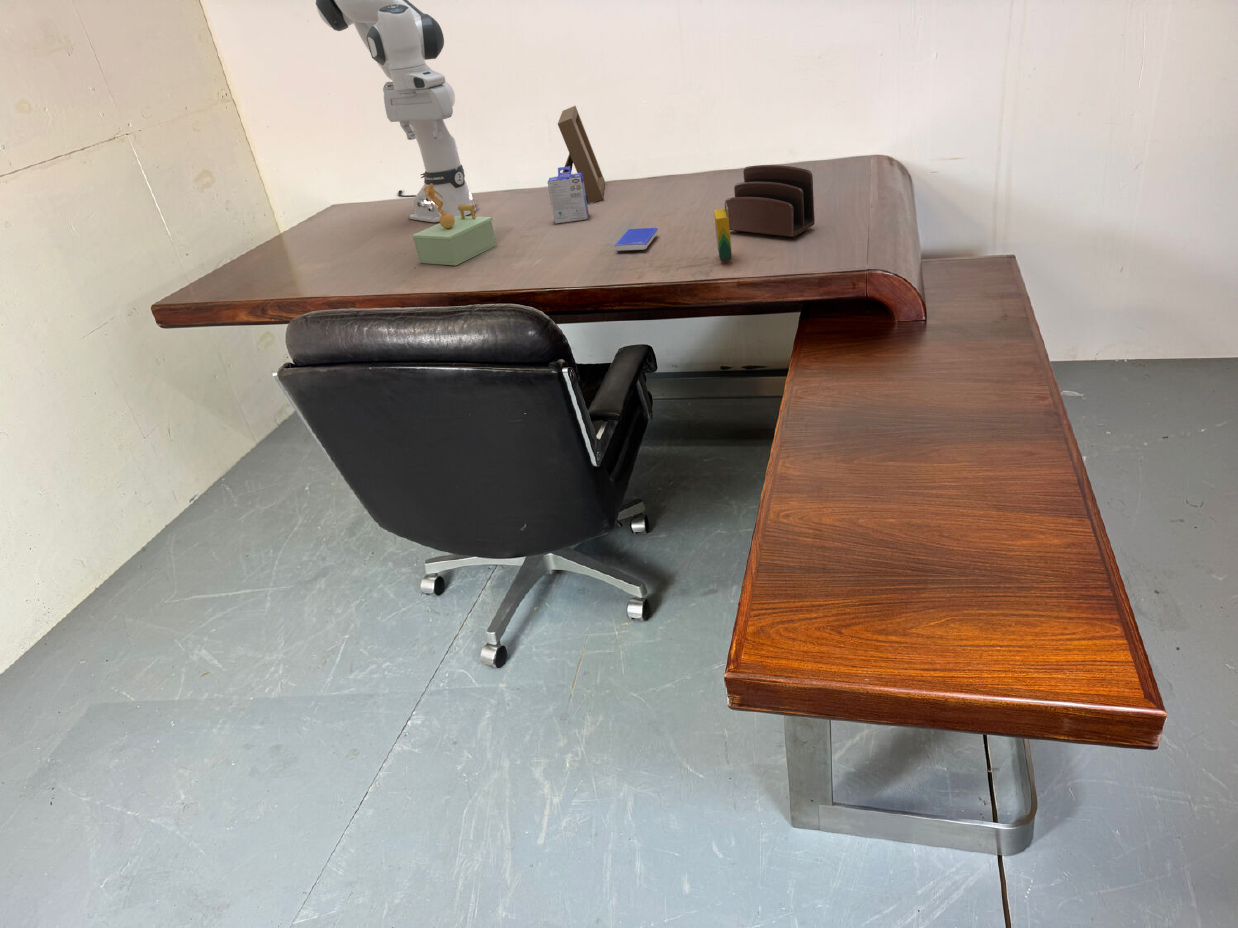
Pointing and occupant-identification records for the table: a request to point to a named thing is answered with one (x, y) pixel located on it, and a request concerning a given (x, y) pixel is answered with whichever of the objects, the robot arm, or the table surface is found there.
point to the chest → (456, 246)
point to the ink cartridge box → (568, 196)
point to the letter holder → (773, 201)
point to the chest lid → (455, 225)
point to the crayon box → (723, 233)
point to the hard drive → (636, 239)
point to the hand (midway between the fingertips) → (425, 139)
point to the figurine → (445, 218)
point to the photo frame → (581, 154)
